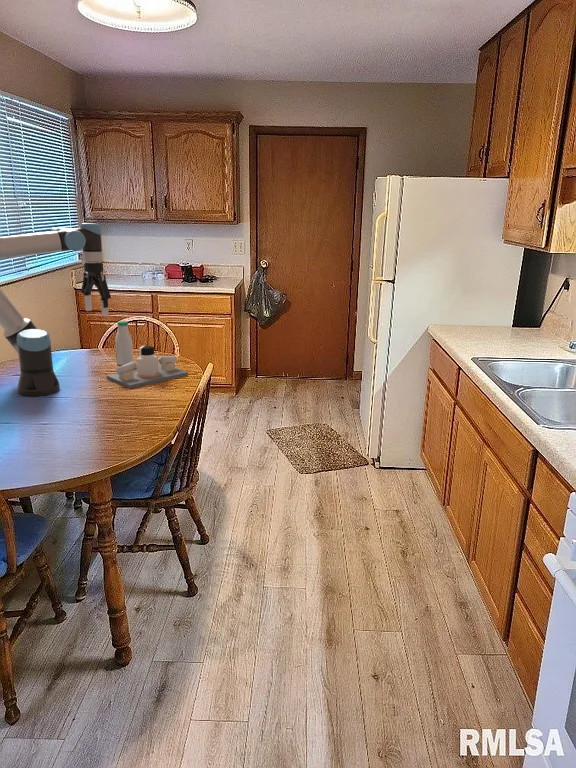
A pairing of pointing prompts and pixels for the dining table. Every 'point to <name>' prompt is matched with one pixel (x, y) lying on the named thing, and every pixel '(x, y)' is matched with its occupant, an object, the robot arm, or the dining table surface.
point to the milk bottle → (123, 344)
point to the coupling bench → (133, 380)
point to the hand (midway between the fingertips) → (97, 312)
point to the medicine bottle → (147, 361)
